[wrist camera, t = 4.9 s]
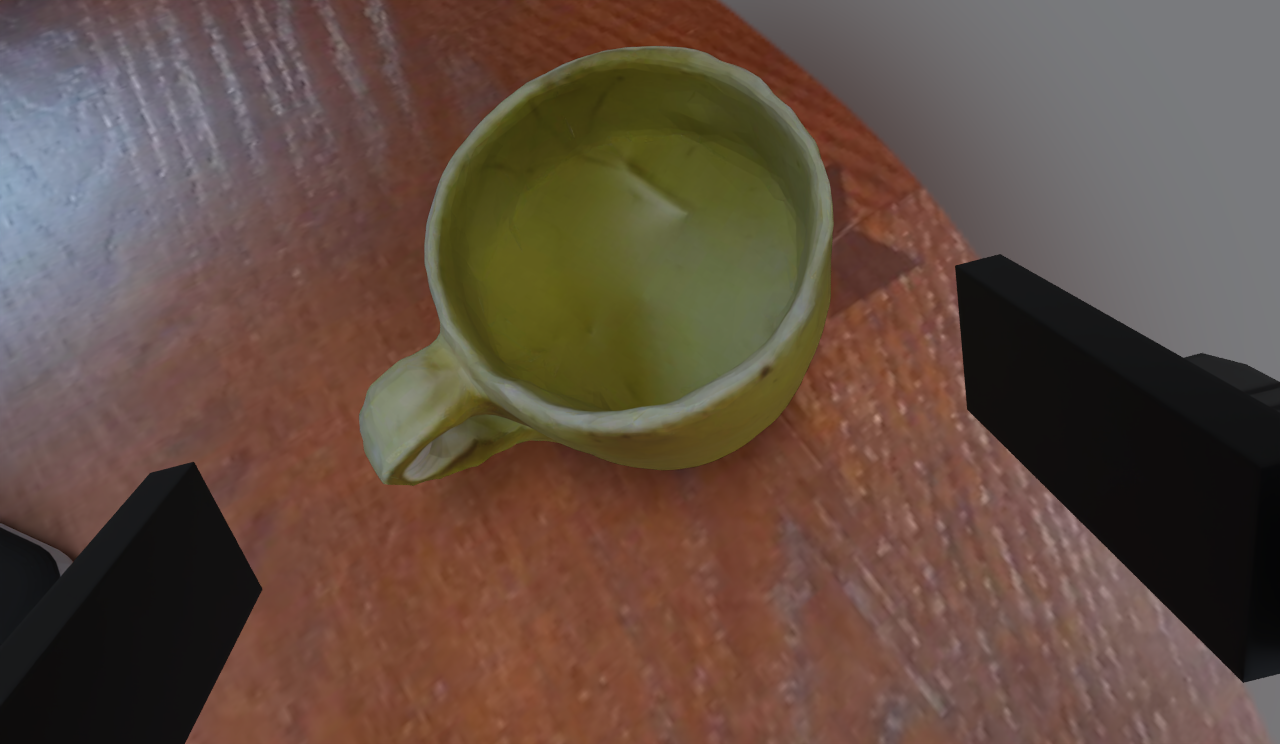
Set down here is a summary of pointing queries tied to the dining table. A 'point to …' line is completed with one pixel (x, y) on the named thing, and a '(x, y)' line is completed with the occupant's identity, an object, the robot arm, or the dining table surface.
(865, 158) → the dining table surface
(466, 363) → the mug
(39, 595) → the remote control
